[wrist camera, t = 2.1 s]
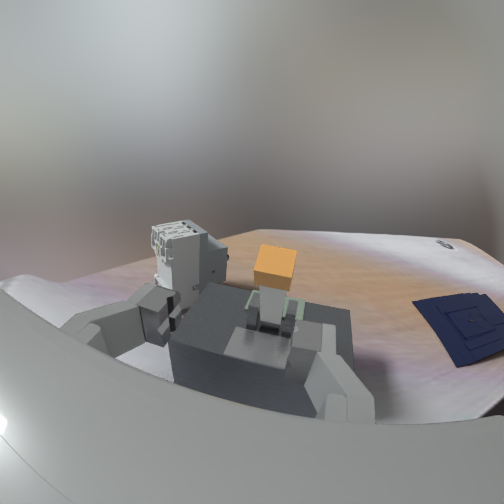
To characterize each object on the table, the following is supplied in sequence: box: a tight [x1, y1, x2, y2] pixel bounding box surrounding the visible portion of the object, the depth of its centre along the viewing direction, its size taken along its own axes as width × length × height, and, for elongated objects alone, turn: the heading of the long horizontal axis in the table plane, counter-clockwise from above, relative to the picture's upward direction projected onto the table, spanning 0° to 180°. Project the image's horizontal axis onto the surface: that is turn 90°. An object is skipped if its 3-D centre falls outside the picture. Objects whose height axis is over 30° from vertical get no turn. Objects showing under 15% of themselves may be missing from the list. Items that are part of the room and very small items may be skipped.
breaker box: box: [168, 282, 354, 418], centre depth 35 cm, size 22×14×14 cm, turn 76°
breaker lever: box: [254, 244, 297, 327], centre depth 29 cm, size 3×3×14 cm
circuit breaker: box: [151, 220, 229, 310], centre depth 53 cm, size 8×14×15 cm, turn 128°
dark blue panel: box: [413, 293, 504, 367], centre depth 49 cm, size 24×30×4 cm
